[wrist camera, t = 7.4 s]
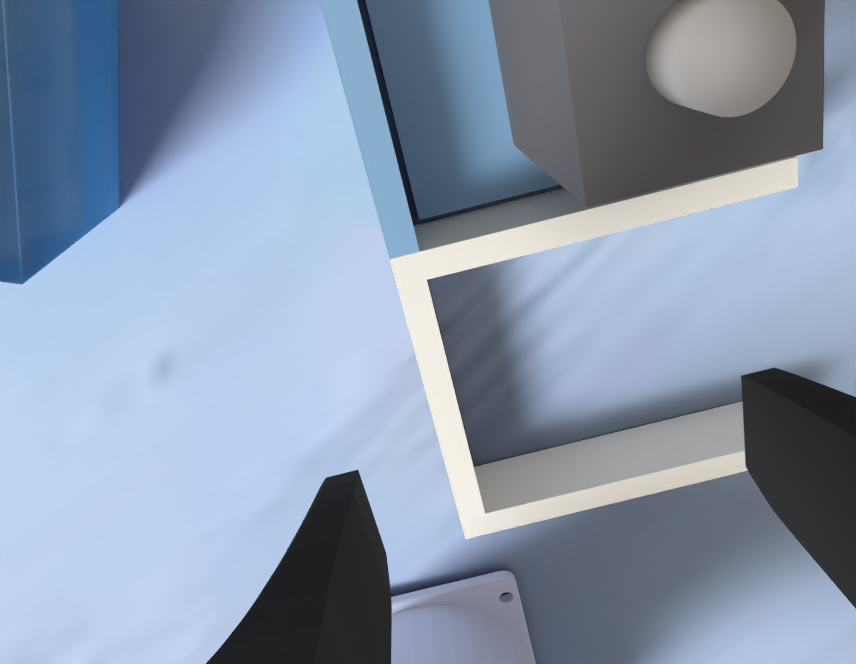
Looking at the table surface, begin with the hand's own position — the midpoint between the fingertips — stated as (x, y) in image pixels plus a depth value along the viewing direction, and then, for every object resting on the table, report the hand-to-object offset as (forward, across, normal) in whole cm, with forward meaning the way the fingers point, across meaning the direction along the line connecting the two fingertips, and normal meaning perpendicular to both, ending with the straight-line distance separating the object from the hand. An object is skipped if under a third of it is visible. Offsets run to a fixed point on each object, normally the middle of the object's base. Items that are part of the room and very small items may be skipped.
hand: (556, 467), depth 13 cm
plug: (+9, -4, -6) cm, 12 cm away
